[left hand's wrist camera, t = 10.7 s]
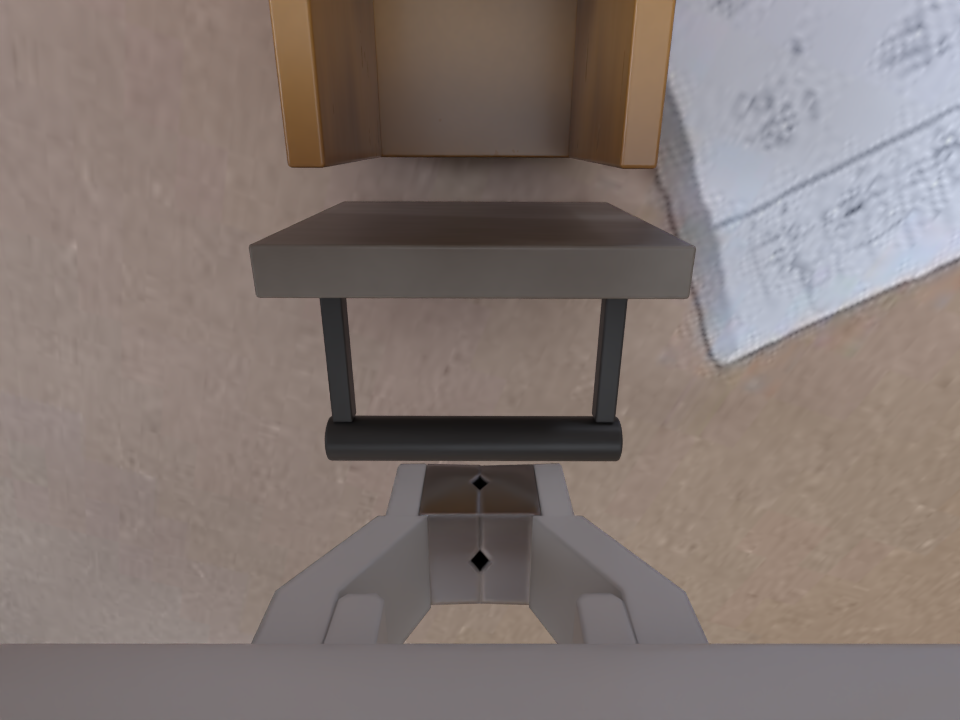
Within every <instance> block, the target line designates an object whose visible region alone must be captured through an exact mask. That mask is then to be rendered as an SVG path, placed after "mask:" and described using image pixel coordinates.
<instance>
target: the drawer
mask: <svg viewBox="0 0 960 720" xmlns="http://www.w3.org/2000/svg"><path fill="white" fill-rule="evenodd" d="M675 4H676V0H269V7H270V16H271V24H272V33H273V41H274V50H275V58H276V67H277V76H278V84H279V93H280V101H281V110H282V118H283V127H284V135H285V144H286V153H287V161H288V165H289V166H290V167H292V168H323V167H329V166H334V165H340V164H345V163H351V162H356V161H361V160H367V159H372V158H378V157H497V158H574V159H579V160H583V161H588V162H593V163H598V164H603V165H608V166H612V167H617V168H622V169H653V168H656V166H657V162H658V153H659V145H660V136H661V127H662V118H663V110H664V101H665V92H666V83H667V74H668V66H669V57H670V48H671V39H672V31H673V22H674V13H675ZM249 251H250V258H251V265H252V271H253V278H254V285H255V292H256V296H257V297H260V298H320V305H321V315H322V324H323V334H324V343H325V352H326V362H327V371H328V381H329V390H330V400H331V409H332V416H331V417H330V418H329V420H328V423H327V426H326V431H325V450H326V454H327V457H328V459H329V460H337V461H618V460H619V459H620V457H621V453H622V445H623V438H622V428H621V424H620V421H619V419H618V418H617V417H615V415H616V405H617V396H618V386H619V376H620V367H621V357H622V348H623V338H624V328H625V319H626V309H627V300H628V299H687V298H688V297H689V293H690V286H691V279H692V272H693V265H694V259H695V252H696V248H695V246H693V245H691V244H689V243H687V242H685V241H683V240H681V239H679V238H677V237H675V236H673V235H671V234H669V233H667V232H665V231H663V230H661V229H659V228H657V227H655V226H653V225H651V224H649V223H647V222H645V221H643V220H641V219H639V218H637V217H635V216H633V215H631V214H629V213H627V212H625V211H623V210H621V209H619V208H617V207H615V206H613V205H611V204H609V203H607V202H347V201H344V202H342V203H340V204H337V205H335V206H333V207H331V208H329V209H327V210H324V211H322V212H320V213H318V214H316V215H314V216H311V217H309V218H307V219H305V220H303V221H301V222H298V223H296V224H294V225H292V226H290V227H288V228H285V229H283V230H281V231H279V232H277V233H275V234H272V235H270V236H268V237H266V238H264V239H262V240H259V241H257V242H255V243H253V244H251V245H250V246H249ZM346 298H523V299H602V303H601V315H600V326H599V338H598V349H597V361H596V372H595V384H594V396H593V407H592V415H593V416H355V414H356V406H355V394H354V383H353V371H352V360H351V349H350V337H349V326H348V315H347V303H346Z"/></svg>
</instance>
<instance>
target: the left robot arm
mask: <svg viewBox="0 0 960 720" xmlns="http://www.w3.org/2000/svg"><path fill="white" fill-rule="evenodd" d="M477 603H481V604H517V605H529V608H530V609H531V610H532V611H533V613H534V614H535V615H536V617H537V618H538V619H539V620H540V622H541V623H542V624H543V626H544V627H545V628H546V629H547V631H548V632H549V633H550V635H551V636H552V637H553V639H554V640H555V641H556V642H557V644H403V643H404V641H405V640H406V639H407V638H408V636H409V635H410V634H411V632H412V631H413V630H414V629H415V627H416V626H417V625H418V624H419V622H420V621H421V620H422V618H423V617H424V616H425V615H426V613H427V612H428V611H429V609H430V608H431V605H442V604H477ZM0 720H960V644H709V643H708V641H707V639H706V636H705V634H704V632H703V630H702V628H701V625H700V623H699V621H698V619H697V617H696V614H695V612H694V610H693V608H692V606H691V603H690V601H689V599H688V597H687V595H686V592H685V591H684V590H682V589H681V588H679V587H678V586H677V585H675V584H674V583H673V582H671V581H670V580H669V579H667V578H666V577H665V576H663V575H662V574H660V573H659V572H658V571H656V570H655V569H654V568H652V567H651V566H650V565H648V564H647V563H645V562H644V561H643V560H641V559H640V558H639V557H637V556H636V555H635V554H633V553H632V552H631V551H629V550H628V549H626V548H625V547H624V546H622V545H621V544H620V543H618V542H617V541H616V540H614V539H613V538H612V537H610V536H609V535H607V534H606V533H605V532H603V531H602V530H601V529H599V528H598V527H597V526H595V525H594V524H593V523H591V522H590V521H588V520H587V519H586V518H584V517H583V516H574V512H573V508H572V505H571V501H570V497H569V493H568V489H567V485H566V481H565V477H564V473H563V470H562V466H561V465H560V464H559V463H555V464H528V465H488V466H480V465H457V464H428V465H426V464H400V466H399V467H398V469H397V473H396V477H395V481H394V485H393V489H392V493H391V496H390V500H389V504H388V508H387V512H386V516H377V517H376V518H374V519H373V520H372V521H370V522H369V523H367V524H366V525H365V526H363V527H362V528H361V529H359V530H358V531H357V532H355V533H354V534H352V535H351V536H350V537H348V538H347V539H346V540H344V541H343V542H342V543H340V544H339V545H337V546H336V547H335V548H333V549H332V550H331V551H329V552H328V553H327V554H325V555H324V556H322V557H321V558H320V559H318V560H317V561H316V562H314V563H313V564H312V565H310V566H309V567H307V568H306V569H305V570H303V571H302V572H301V573H299V574H298V575H296V576H295V577H294V578H292V579H291V580H290V581H288V582H287V583H286V584H284V585H283V586H281V587H280V588H279V589H277V590H276V591H275V593H274V595H273V597H272V599H271V602H270V604H269V606H268V608H267V610H266V613H265V615H264V617H263V619H262V621H261V623H260V626H259V628H258V630H257V632H256V634H255V636H254V639H253V641H252V643H251V644H0Z"/></svg>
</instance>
